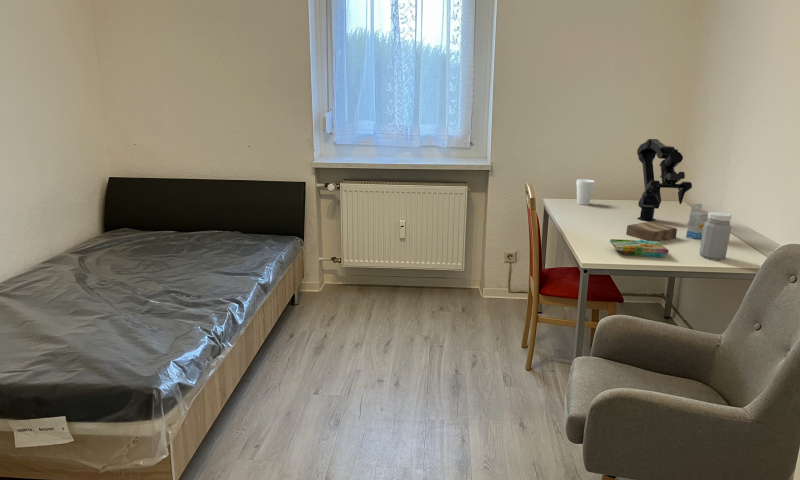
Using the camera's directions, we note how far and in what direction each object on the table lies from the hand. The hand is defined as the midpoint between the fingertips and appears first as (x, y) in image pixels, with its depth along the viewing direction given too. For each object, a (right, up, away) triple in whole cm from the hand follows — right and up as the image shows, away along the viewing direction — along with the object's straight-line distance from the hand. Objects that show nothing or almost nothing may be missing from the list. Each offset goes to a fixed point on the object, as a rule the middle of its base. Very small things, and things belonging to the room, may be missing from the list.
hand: (670, 203), depth 277 cm
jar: (+2, -24, -32) cm, 40 cm away
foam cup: (-22, +3, +60) cm, 64 cm away
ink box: (+11, -15, -2) cm, 19 cm away
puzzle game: (-27, -22, -30) cm, 46 cm away
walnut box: (-11, -15, -4) cm, 19 cm away
